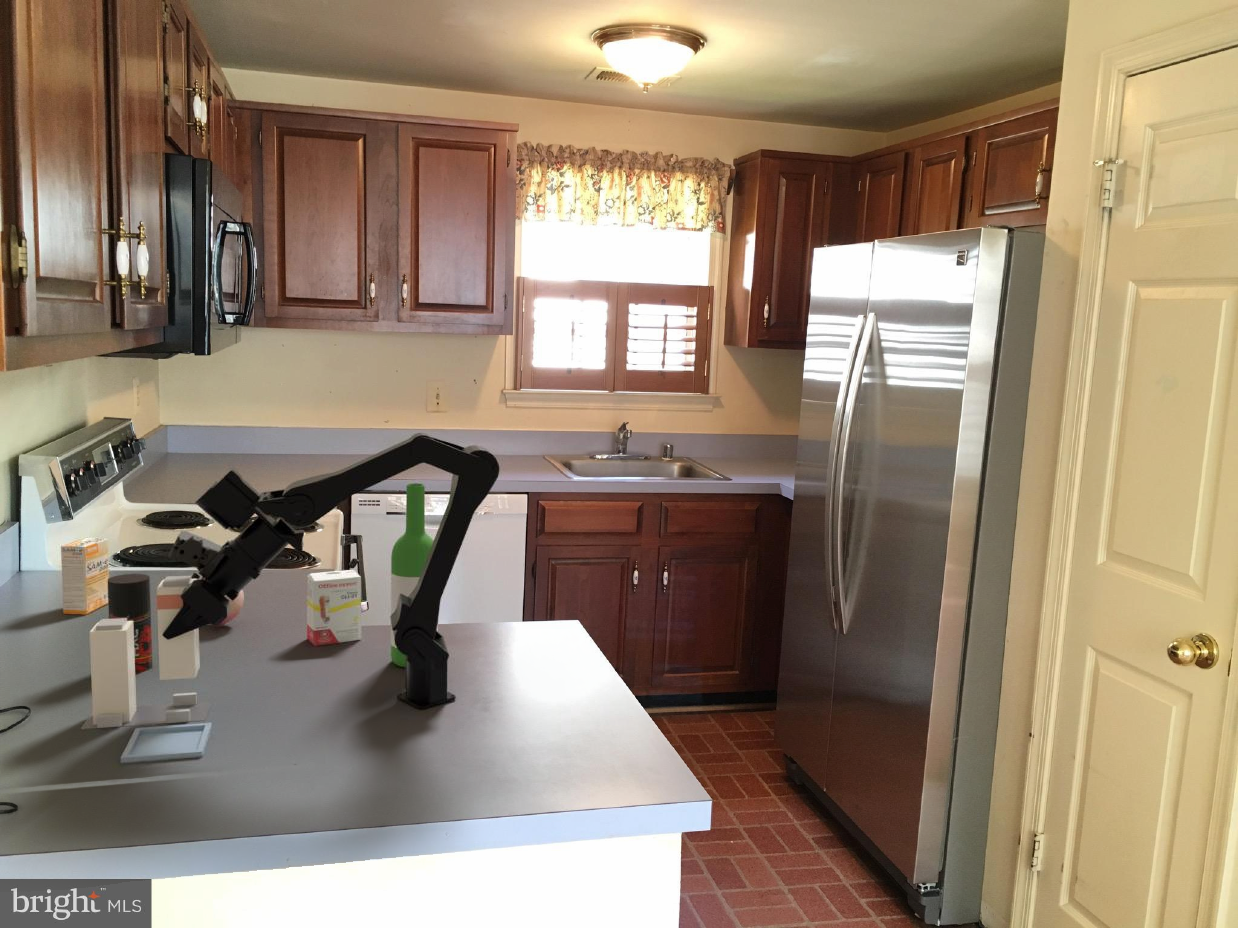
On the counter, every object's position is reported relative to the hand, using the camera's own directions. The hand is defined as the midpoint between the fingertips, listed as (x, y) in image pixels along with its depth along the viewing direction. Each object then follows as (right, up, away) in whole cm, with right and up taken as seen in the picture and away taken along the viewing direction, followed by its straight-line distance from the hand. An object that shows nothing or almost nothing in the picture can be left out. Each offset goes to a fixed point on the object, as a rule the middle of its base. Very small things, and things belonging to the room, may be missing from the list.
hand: (168, 631), depth 135 cm
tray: (+4, -14, -8) cm, 17 cm away
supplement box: (-39, -4, +51) cm, 64 cm away
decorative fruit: (-10, -6, +43) cm, 45 cm away
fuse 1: (-7, -12, 0) cm, 14 cm away
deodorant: (-14, -10, +19) cm, 26 cm away
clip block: (-3, -12, +1) cm, 13 cm away
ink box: (+12, -8, +38) cm, 40 cm away
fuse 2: (+1, -6, +1) cm, 6 cm away
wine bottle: (+29, -10, +27) cm, 41 cm away
